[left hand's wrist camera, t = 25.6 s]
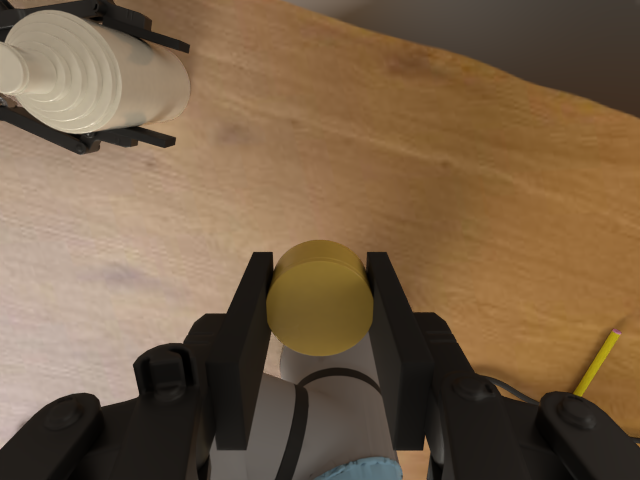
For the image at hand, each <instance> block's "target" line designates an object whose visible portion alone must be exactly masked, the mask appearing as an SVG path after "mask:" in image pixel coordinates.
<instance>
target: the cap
mask: <svg viewBox="0 0 640 480" xmlns="http://www.w3.org/2000/svg"><path fill="white" fill-rule="evenodd" d="M373 304H374V299H373V295H372V291H371V288H370V284H369V280H368V277H367V273H366V270H365V267H364V265H363V263H362V262H361V260H360V259H359V257H358V256H357V255H356V254H355V253H354V252H353V251H351V250H350V249H349V248H347V247H345V246H343V245H342V244H339V243H336V242H333V241H328V240H312V241H307V242H303V243H301V244H298V245H296V246H294V247H293V248H291V249H290V250H288V251H287V252H286V253H285V254H284V255H283V256H282V257H281V258H280V260H279V261H278V263H277V265H276V266H275V269H274V272H273V275H272V279H271V283H270V286H269V290H268V294H267V298H266V308H267V322H268V325H269V327H270V329H271V331H272V332H273V334H274V335H275V336H276V338H277V339H278V340H279V341H280V342H282V343H283V344H284V345H285V346H287V347H289V348H290V349H292V350H294V351H296V352H299V353H302V354H306V355H311V356H329V355H334V354H338V353H341V352H344V351H346V350H348V349H350V348H351V347H353V346H354V345H356V344H357V343H358V342H359V341H360V340H361V339H362V338H363V337H364V336H365V335H366V333H367V332H368V330H369V328H370V327H371V324H372V320H373Z"/></svg>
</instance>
